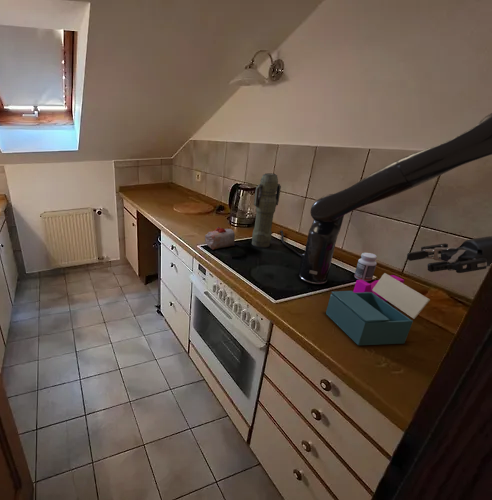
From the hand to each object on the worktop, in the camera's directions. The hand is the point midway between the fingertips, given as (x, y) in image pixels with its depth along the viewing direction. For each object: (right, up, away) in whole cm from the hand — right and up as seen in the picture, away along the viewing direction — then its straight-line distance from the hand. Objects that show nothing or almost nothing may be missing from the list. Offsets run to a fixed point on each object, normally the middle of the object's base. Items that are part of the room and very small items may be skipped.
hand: (417, 262), depth 81 cm
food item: (-36, +5, +69) cm, 78 cm away
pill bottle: (+11, -8, +36) cm, 38 cm away
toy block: (+5, -13, +23) cm, 27 cm away
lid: (-2, -9, +4) cm, 10 cm away
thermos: (-15, +6, +70) cm, 72 cm away
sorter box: (-9, -20, +8) cm, 23 cm away
